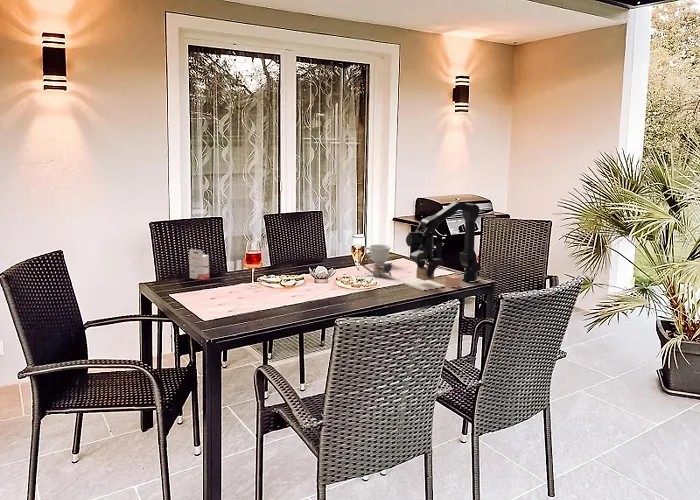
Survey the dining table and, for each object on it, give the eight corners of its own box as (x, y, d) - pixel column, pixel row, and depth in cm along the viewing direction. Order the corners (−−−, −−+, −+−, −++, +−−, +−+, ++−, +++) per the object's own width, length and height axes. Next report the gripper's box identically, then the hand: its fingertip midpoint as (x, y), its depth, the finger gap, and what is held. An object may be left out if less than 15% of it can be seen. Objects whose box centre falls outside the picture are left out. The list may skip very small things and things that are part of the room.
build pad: (426, 280, 296) (426, 278, 296) (444, 287, 285) (445, 285, 285) (404, 284, 289) (404, 282, 288) (422, 291, 277) (422, 289, 277)
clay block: (452, 284, 291) (453, 274, 290) (459, 287, 287) (460, 277, 286) (445, 285, 288) (445, 276, 287) (452, 288, 284) (453, 278, 283)
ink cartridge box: (209, 278, 290) (209, 248, 287) (203, 280, 285) (203, 250, 282) (195, 276, 293) (194, 247, 290) (189, 278, 288) (188, 249, 285)
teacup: (361, 262, 333) (362, 244, 331) (386, 261, 337) (387, 244, 335) (367, 267, 322) (367, 249, 320) (393, 266, 325) (393, 248, 323)
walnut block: (425, 276, 290) (426, 266, 289) (433, 279, 285) (434, 269, 284) (416, 277, 287) (416, 267, 286) (424, 280, 282) (424, 270, 281)
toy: (384, 284, 299) (393, 268, 296) (354, 266, 301) (363, 250, 298) (387, 280, 308) (397, 264, 305) (358, 262, 310) (367, 246, 307)
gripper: (401, 243, 286) (400, 274, 289) (426, 250, 271) (424, 282, 274) (419, 241, 292) (417, 271, 295) (444, 248, 277) (442, 280, 280)
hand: (425, 276), depth 286 cm, fingers closed on walnut block, 6 cm apart
